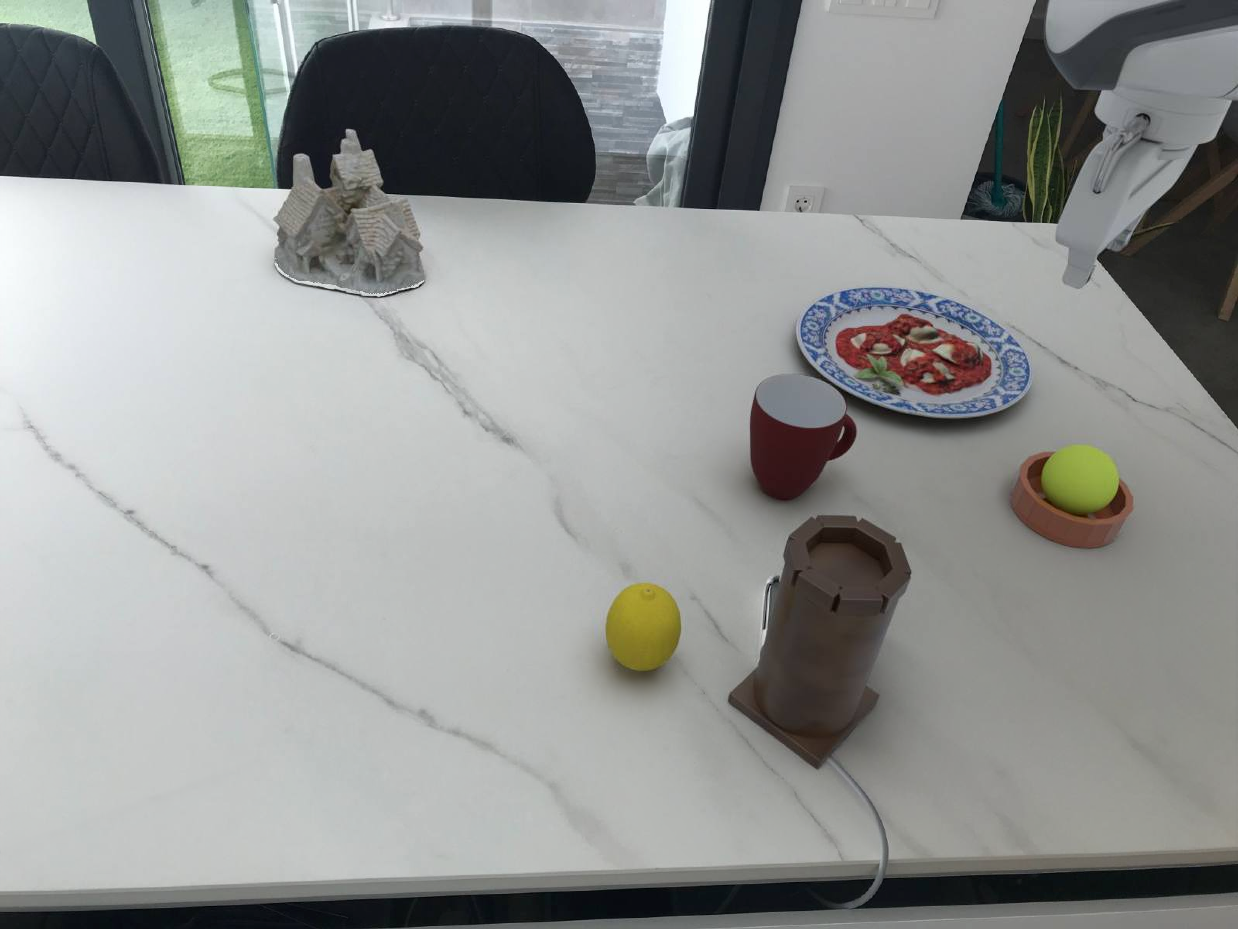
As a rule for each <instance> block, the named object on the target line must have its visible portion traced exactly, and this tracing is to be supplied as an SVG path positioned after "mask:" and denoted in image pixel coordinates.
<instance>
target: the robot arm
mask: <svg viewBox="0 0 1238 929" xmlns="http://www.w3.org/2000/svg"><path fill="white" fill-rule="evenodd" d="M1043 43H1044V47H1045V49H1046V52H1047V54H1048V56H1049V58H1050V59H1051V61H1052V63H1053V64H1054V66H1055V68H1056V69H1057V70H1058V72H1059V73H1060V75H1061V76H1062V77H1063V78H1064V79H1065V81H1066V82H1067V83H1068V84H1069V85H1070V86H1071V88H1073V89H1074V90H1081V91H1082V90H1085V91H1101V92H1100V94H1099V96H1098V98H1097V102H1096V105H1095V107H1094V114H1095V116H1096V117H1097V119H1098V120H1100V122H1102V124H1103V123H1104V124H1105V125H1106V126H1105V127H1104V131H1103V133H1102V137H1103V140H1102V141H1100V142H1099V143H1097V144H1096V145H1095V146H1094V147H1093V149H1092V150H1091V151H1090V153H1089V154H1088V156H1087V158H1086V159H1085V161H1084V162H1083V165H1082V167H1081V169H1080V171H1079V173H1078V175H1077V178H1076V180H1075V182H1074V184H1073V186H1072V189H1071V191H1070V194H1069V195H1068V199H1067V201H1066V203H1065V205H1064V208H1063V209H1062V213H1061V215H1060V217H1059V220H1058V222H1057V225H1056V227H1055V233H1054V240H1055V242H1056V243H1057V244H1059V245H1061V246H1063V247H1066V248H1068V255H1067V264H1066V267H1065V269H1064V272H1063V275H1062V277H1061V281H1062V284H1064V285H1066V286H1068V287H1071V288H1074V289H1076V290H1080V289H1082V288H1084V287H1085V286H1086V285H1087V284H1088V283H1089V282H1090V280H1091V278H1092V275H1093V273H1094V271H1095V268H1096V264H1095V263H1096V261H1097V258H1098V256H1099V255H1100V254H1102V253H1103V251H1104V250H1105V249H1107V250H1111V251H1112V252H1116V253H1118V252H1121V251H1122V250H1123V249H1124V248H1125V247H1126V246H1128V244H1129V242H1130V240H1131V237H1132V235H1133V232H1134V231H1135V229H1136V228H1137V226H1138V224H1139V223H1140V221H1141V219H1142V218H1143V217H1144V215H1145V214H1146V212H1147V210H1148V209H1149V208H1151V206H1153V205H1154V204H1155V203H1156V202H1158V200H1159V199H1160V198H1161V197H1163V196H1164V195H1165V194H1166V193H1167V192H1168V191H1170V189H1172V187H1173V186H1174V185H1175V183H1176V182H1177V180H1178V179H1179V178H1180V176H1181V175H1182V173H1183V172H1184V170H1185V169H1186V167H1187V165H1188V163H1189V161H1191V158H1192V157H1193V154H1194V153H1195V152H1196V150H1197V148H1198V145H1202V144H1206V143H1209V142H1211V141H1213V140H1214V139H1215V138H1216V137H1217V134H1218V132H1219V130H1220V128H1221V126H1222V123H1223V121H1224V119H1225V117H1226V115H1227V113H1228V110H1229V108H1230V107H1231V104H1232V102H1233V101H1234V102H1235V101H1236V102H1238V0H1047V3H1046V7H1045V12H1044V19H1043Z"/></svg>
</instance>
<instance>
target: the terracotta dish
mask: <svg viewBox="0 0 1238 929" xmlns="http://www.w3.org/2000/svg"><path fill="white" fill-rule="evenodd" d="M1055 452H1056V451H1042V452H1038V453H1036V454H1033V455H1030V456H1028V457H1027V458H1026V459H1025V460H1024V461H1023V463H1021V464H1020V466H1019V469H1018V471H1017V473H1016V475H1015V478H1014V480H1013V483H1012V486H1011V489H1010V492H1009V502H1010V505H1011V507H1012V510H1013V511H1014V513H1015V515H1016V516H1017V517H1018V519H1020V521H1021V522H1022V523H1023V524H1024V525H1026V527H1028V528H1029V529H1030V530H1032V531H1034V532H1035V533H1036V534H1038V535H1040V536H1041V537H1043V538H1045V539H1048V540H1050V541H1052V542H1055V543H1058V544H1060V545H1063V546H1068V547H1072V548H1079V549H1081V548H1082V549H1095V548H1101V547H1104V546H1107V545H1110V544H1111V543H1113V542H1114V541H1115V540H1116V539H1117V538H1118V537H1119V535H1120V534H1121V532H1122V530H1123V529H1124V527H1125V526H1126V523H1127V522H1128V521H1129V518H1130V517H1131V515H1132V513H1133V511H1134V496H1133V494H1132V492H1131V490H1130V488H1129V486H1128V485H1127V483H1126V482H1125V481H1124V480H1122V478H1121V477H1119V485H1118V489H1117V492H1116V495H1115V496H1114V498H1113V499H1112V501H1111V502H1110V503H1109V504H1108V505H1107V506H1105V507H1104V508H1103V509H1101V510H1099V511H1097V512H1094V513H1091V514H1086V515H1074V514H1069V513H1066V512H1063V511H1061V510H1060V509H1058V508H1056V507H1055V506H1054V505H1053V504H1052V503H1051V502H1050V501H1049V500H1048V499H1047V497H1046V496H1045V494H1044V491H1043V488H1042V484H1041V476H1042V471H1043V468H1044V466H1045V464H1046V462H1047V461H1048V459H1049V458H1050V457H1051V456H1052V455H1053V454H1054V453H1055Z"/></svg>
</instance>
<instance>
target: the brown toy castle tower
mask: <svg viewBox="0 0 1238 929" xmlns="http://www.w3.org/2000/svg"><path fill="white" fill-rule="evenodd" d="M784 546H785V547H784V550H783V554H782V557H783V562H784V564H783V567H782V571H781V576H780V579H779V583H778V588H777V592H776V595H775V598H774V603H773V606H772V610H771V615H770V618H769V622H768V626H767V629H766V634H765V638H764V641H763V644H762V649H761V654H760V657H759V661H758V665H757V667H755V669H753V671H752V672H751V673H749V674H748V675H747V676H746V677H745V678H744V679H743V680H742V681H741V682H740V683H739V684H738V685H737V686H736V687H735V688H734V689H732V691H730V692H729V695H728V698H727V702H728V703H729V704H730V705H732V706H733V707H735V708H736V709H737V710H738V711H739V712H741V713H742V714H743V715H745V716H746V717H747V718H749V719H750V720H752V721H753V722H754V723H756V724H757V725H758V726H760V727H761V728H762V729H763V730H765V731H766V732H767V733H768V734H770V735H772V736H773V737H774V738H775V739H777V740H778V741H779V742H781V743H782V744H783V745H785V746H786V747H787V748H789V749H790V750H791V751H793V752H794V753H795V754H796V755H798V756H799V757H801V759H803V760H805V761H806V762H807V763H809V765H811V766H812V767H813V768H815V769H817V770H818V769H819V768H820V767H821V766H822V765H823V764H824V763H825V761H826V760H827V759H828V758H829V757H830V756H831V755H832V754H833V753H834V751H835V750H836V749H837V748H838V747H839V746H840V745H841V744H842V742H844V740H846V738H847V737H848V736H849V735H850V734H851V732H853V730H854V729H856V727H858V725H859V724H860V723H861V722H862V720H863V719H864V718H865V717H866V716H867V715H868V714H869V712H870V711H871V710H873V709H874V707H875V706H876V705H877V704H878V701H879V699H880V696H881V695H880V694H879V693H878V692H876V691H875V690H873V689H872V688H870V687H869V686H868V683H869V680H870V678H871V675H872V672H873V669H874V667H875V664H876V662H877V659H878V656H879V653H880V651H881V648H882V646H883V642H884V640H885V637H886V635H887V633H888V629H889V627H890V625H891V622H892V619H893V616H894V614H895V610H897V609H896V608H897V606H898V603H899V601H900V599H901V597H903V596H904V595H905V594H906V592H907V589H908V586H909V584H910V581H911V579H912V576H911V575H912V572H913V571H912V569H911V566H910V563H909V560H908V558H907V555H906V552H905V549H904V547H903V544H902V542H900V541H899V542H897V537H896V536H895V535H892V534H891V533H889V532H887V531H885V530H884V529H882V528H881V527H879V526H878V525H875V524H874V523H872V522H871V521H869V520H867V519H865V518H864V517H861V518H860V519H859V520H858V518H857V516H856V515H839V514H833V515H832V514H816V517H813V516H810V517H809V518H808V519H807V520H806V521H804V522H803V523H802V524H800V526H798V527H797V528H795V530H794V531H792V532H791V533H789V535H788V536H787V540H786V543H785V545H784ZM828 756H829V757H828ZM827 757H828V758H827Z"/></svg>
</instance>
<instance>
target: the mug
mask: <svg viewBox="0 0 1238 929" xmlns="http://www.w3.org/2000/svg"><path fill="white" fill-rule="evenodd" d="M847 411H848V405H847V401H846V399H845V398H844V396H843V395H842V393H841V392H840V391H839V390H838V389H837V388H836V387H834V386H833V385H831V384H830V383H828V382H827V381H824V380H822V379H819V378H817V377H814V376H810V375H805V374H801V373H799V374H798V373H781V374H776V375H772V376H770V377H767V378H766V379H763V380H762V381H761V382H760V383H759V384H758V385H757V386H756V389H755V392H754V395H753V399H752V404H751V408H750V416H749V448H750V449H749V457H750V459H749V460H750V466H751V469H752V472H753V474H754V477H755V480H756V482H757V483H758V486H759V488H760V489H761V491H762V492H763V493H764V494H765V495H767V496H769V497H771V498H773V499H776V500H779V501H780V500H781V501H788V500H794V499H797V498H798V497H799V496H801V495H802V494H803V493H804V492H806V491H807V490H808V489H810V488H811V486H812V485H814V484H815V483H816V481H817V480H818V479H819V478H820V476H821V474H822V472H823V471H824V469H825V467H826V465H827V463H828V462H830V461H834V460H836V459H839V458H841V457H842V456H844V455H845V454H846V453H847V452H848V451H849V450H851V448H852V446H853V445H854V443H855V441H856V438H857V434H858V429H857V425H856V423H855V421H854V419H853V418H852V417H851V416H850V415H849V414H847ZM842 431H843V432H842ZM841 434H842V435H841Z"/></svg>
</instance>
